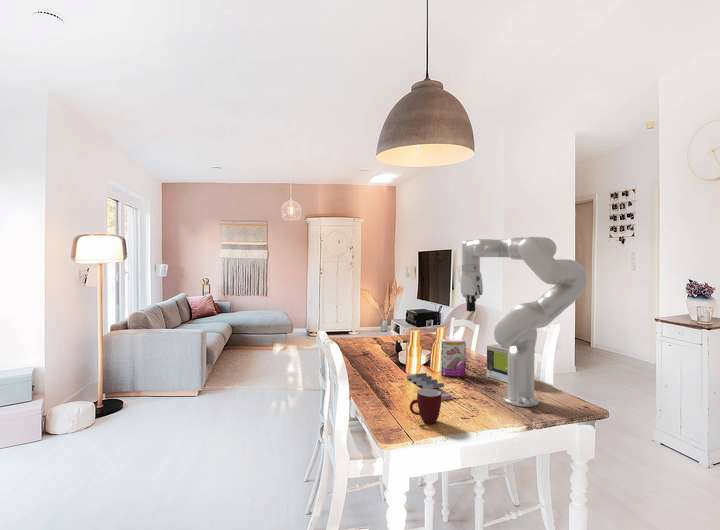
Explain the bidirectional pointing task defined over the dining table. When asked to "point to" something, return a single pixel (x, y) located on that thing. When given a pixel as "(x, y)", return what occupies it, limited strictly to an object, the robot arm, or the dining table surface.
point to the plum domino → (443, 394)
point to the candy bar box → (453, 357)
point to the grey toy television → (497, 362)
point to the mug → (428, 405)
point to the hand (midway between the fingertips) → (470, 311)
